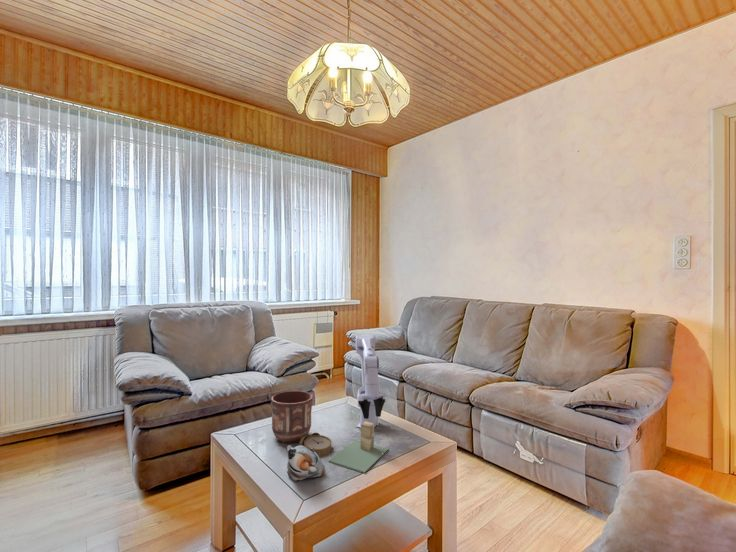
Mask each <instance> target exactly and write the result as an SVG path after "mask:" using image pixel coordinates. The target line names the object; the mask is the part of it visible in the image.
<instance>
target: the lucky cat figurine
mask: <svg viewBox="0 0 736 552" xmlns="http://www.w3.org/2000/svg"><path fill="white" fill-rule="evenodd" d="M286 452H287V456H288V458H287V459H288V460H287V464H286V465H287V466H286V467H287V468H286V469H287V471H286V472H287V476H288V477H290V478H291V480H292V481H295V482H296V481H298V480H299V481H302V480H304V479H305V480H306V479H308V478H309V479H311V478H318V477H323V474H324V471H325V469H326V466H325V464H324V463H323V461H322V460H321V458H320V456H318V454H317V453H316V452H314V448H313V447H310V449H308V448H307V447H304V446H302V445H300V444H299V445H297V446H294V447H293V446H292V445H291V444H289V445H287V446H286Z"/></svg>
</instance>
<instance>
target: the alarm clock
mask: <svg viewBox="0 0 736 552" xmlns="http://www.w3.org/2000/svg"><path fill="white" fill-rule="evenodd" d="M332 442H333V441H332V439H331V438H329V436H326V435H321V434H320V433H319V432H313V433H311V434H308V435H305V436H303V437H301V440H300V441H298V443H299V445H302V446H304V447H307V448H308V449H310V447H313V448H314V452H316V453H317V454H318V456H319V457H323V456H326V455H328V454H330V453H331V452H332V450H334V447H332Z"/></svg>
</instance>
